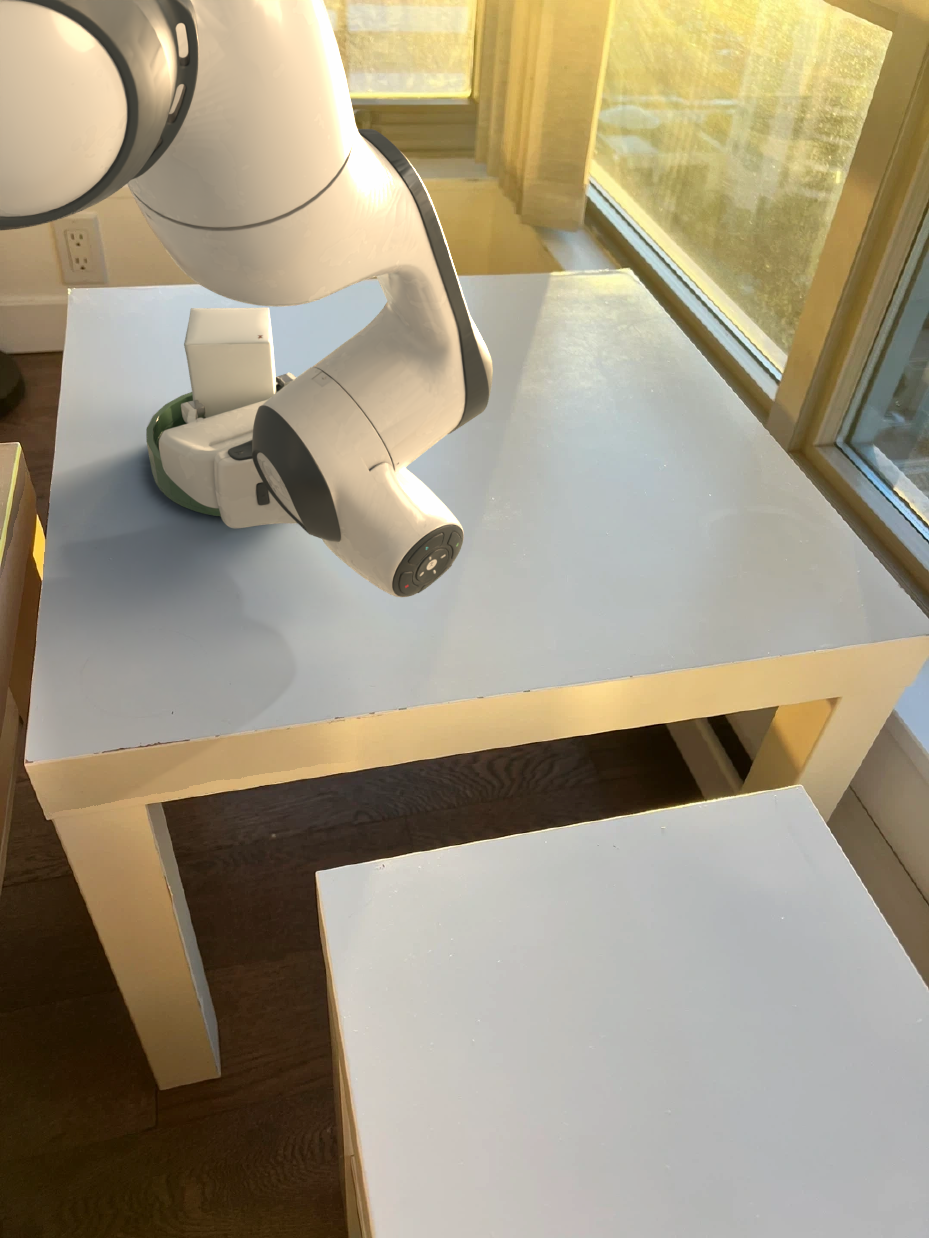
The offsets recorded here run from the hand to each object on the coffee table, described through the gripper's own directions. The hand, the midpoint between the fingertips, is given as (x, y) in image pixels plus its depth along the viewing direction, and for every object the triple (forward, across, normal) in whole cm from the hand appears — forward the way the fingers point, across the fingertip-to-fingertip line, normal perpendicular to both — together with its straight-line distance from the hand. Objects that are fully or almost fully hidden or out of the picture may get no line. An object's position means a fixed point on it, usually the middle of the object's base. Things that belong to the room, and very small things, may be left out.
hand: (236, 394), depth 88 cm
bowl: (-1, 0, +7) cm, 7 cm away
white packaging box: (+1, -1, +7) cm, 7 cm away
